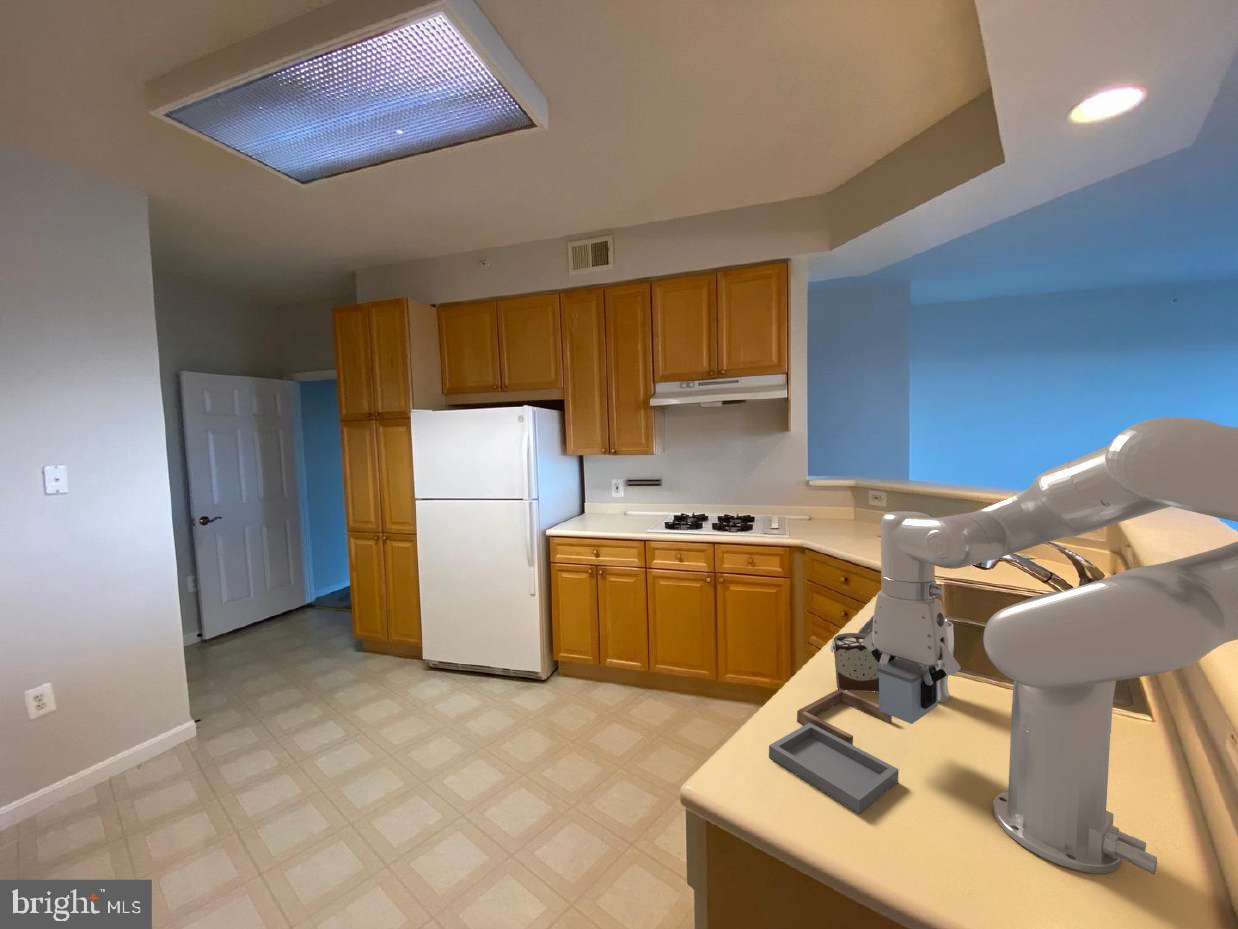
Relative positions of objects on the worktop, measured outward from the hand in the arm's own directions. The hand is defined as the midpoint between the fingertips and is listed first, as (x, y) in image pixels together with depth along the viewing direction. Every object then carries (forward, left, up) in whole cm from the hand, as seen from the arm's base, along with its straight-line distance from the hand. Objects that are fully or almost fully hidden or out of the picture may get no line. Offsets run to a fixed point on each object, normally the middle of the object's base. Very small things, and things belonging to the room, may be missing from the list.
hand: (908, 697), depth 81 cm
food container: (+17, -15, -10) cm, 25 cm away
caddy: (0, 0, -2) cm, 2 cm away
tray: (+5, +14, -9) cm, 17 cm away
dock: (+11, 0, -9) cm, 14 cm away
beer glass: (+6, -23, -9) cm, 26 cm away
